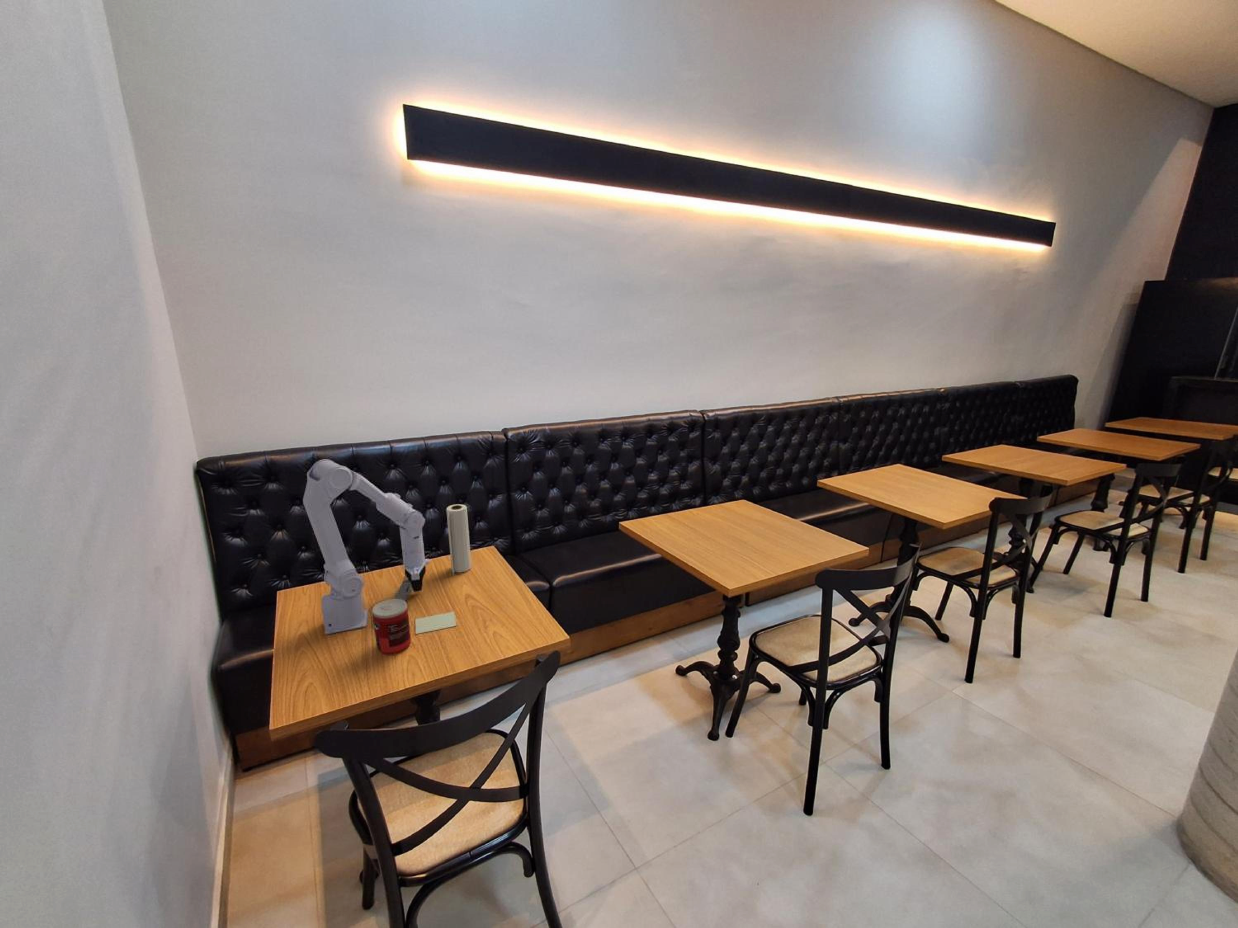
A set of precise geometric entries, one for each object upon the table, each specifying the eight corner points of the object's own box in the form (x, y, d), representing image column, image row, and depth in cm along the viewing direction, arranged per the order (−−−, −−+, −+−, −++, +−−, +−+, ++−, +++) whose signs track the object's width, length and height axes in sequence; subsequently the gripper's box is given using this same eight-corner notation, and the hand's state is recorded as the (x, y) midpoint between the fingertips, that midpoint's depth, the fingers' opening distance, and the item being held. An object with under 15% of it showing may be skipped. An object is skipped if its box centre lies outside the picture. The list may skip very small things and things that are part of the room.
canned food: (386, 635, 129) (380, 597, 126) (416, 636, 129) (412, 598, 126) (371, 655, 122) (365, 615, 119) (403, 656, 122) (398, 616, 119)
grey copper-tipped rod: (398, 618, 135) (397, 607, 134) (387, 619, 134) (386, 608, 133) (415, 584, 152) (413, 573, 151) (405, 584, 152) (404, 574, 151)
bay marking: (415, 634, 130) (415, 633, 130) (415, 619, 136) (415, 619, 136) (456, 626, 134) (456, 625, 134) (454, 612, 140) (453, 611, 140)
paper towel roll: (466, 562, 168) (461, 502, 162) (474, 568, 164) (470, 507, 158) (445, 569, 163) (439, 507, 157) (453, 576, 159) (447, 513, 153)
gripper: (428, 556, 140) (433, 600, 144) (426, 536, 153) (430, 576, 157) (401, 561, 137) (406, 605, 141) (401, 539, 150) (406, 580, 154)
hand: (417, 590), depth 149 cm, fingers closed
